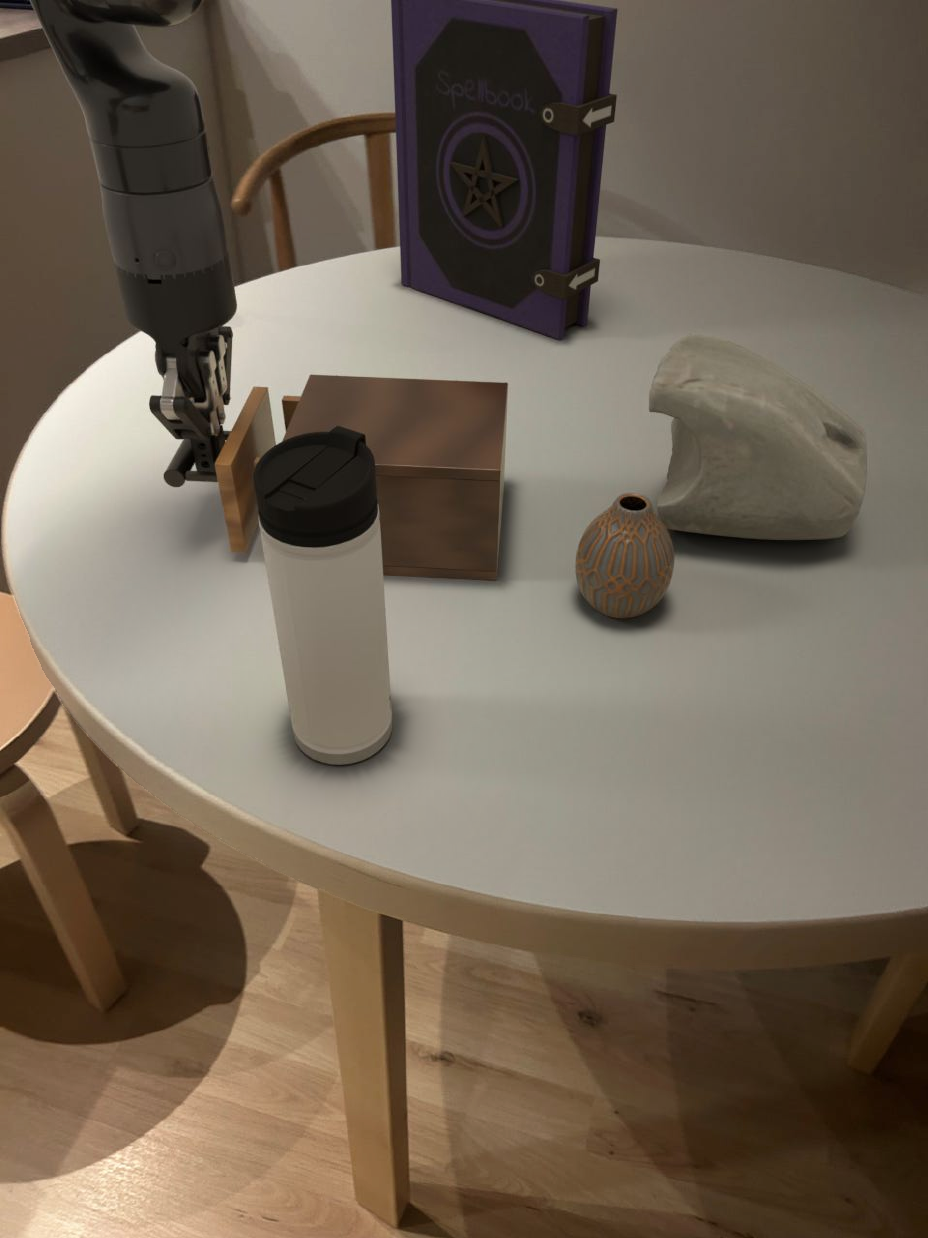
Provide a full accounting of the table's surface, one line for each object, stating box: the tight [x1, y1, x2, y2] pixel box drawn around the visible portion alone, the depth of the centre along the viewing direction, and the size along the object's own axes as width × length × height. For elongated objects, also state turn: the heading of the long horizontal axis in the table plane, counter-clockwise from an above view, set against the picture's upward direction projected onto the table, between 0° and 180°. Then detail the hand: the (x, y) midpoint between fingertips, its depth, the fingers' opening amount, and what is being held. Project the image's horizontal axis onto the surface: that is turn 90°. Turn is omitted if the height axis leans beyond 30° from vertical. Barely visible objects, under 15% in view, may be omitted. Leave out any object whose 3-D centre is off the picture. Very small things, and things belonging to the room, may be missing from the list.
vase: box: [575, 492, 675, 619], centre depth 68 cm, size 7×7×9 cm
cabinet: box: [282, 374, 509, 582], centre depth 74 cm, size 16×13×10 cm
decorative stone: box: [648, 333, 868, 541], centre depth 73 cm, size 12×17×15 cm
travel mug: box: [253, 426, 393, 766], centre depth 54 cm, size 6×7×20 cm
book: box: [390, 0, 618, 342], centre depth 100 cm, size 24×6×30 cm, turn 50°
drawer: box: [163, 386, 301, 554], centre depth 75 cm, size 20×12×8 cm, turn 86°
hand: (213, 470), depth 75 cm, fingers closed
